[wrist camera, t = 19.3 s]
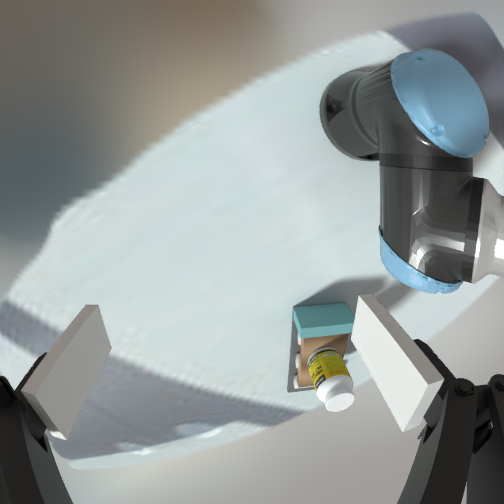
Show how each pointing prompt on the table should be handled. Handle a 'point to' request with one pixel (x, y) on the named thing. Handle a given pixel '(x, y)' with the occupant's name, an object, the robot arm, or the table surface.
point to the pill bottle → (331, 379)
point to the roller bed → (315, 331)
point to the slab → (310, 347)
